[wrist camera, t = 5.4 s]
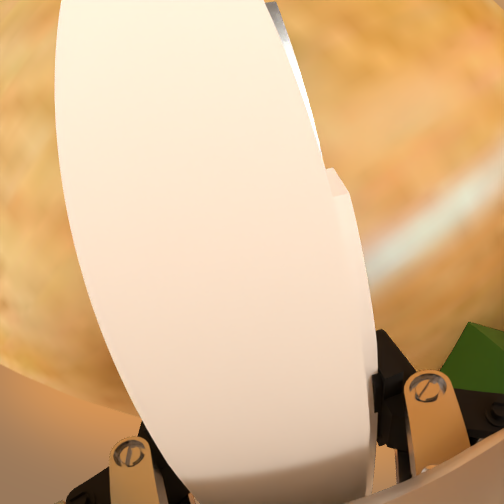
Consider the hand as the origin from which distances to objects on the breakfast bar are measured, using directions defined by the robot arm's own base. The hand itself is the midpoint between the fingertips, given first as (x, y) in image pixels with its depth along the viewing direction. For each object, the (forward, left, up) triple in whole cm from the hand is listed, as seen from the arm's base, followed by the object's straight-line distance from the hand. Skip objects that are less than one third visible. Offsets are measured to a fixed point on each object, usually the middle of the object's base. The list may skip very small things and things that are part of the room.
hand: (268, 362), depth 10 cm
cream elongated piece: (0, +1, -4) cm, 4 cm away
